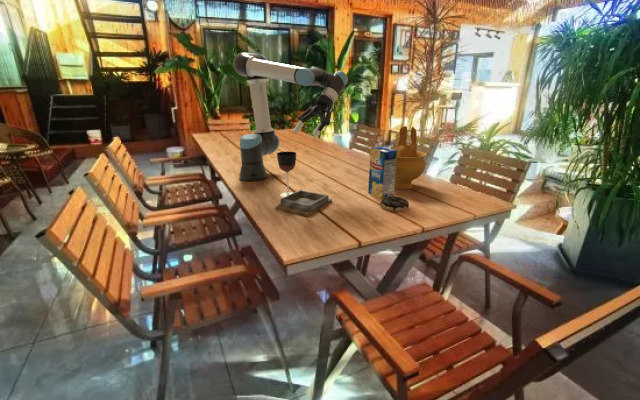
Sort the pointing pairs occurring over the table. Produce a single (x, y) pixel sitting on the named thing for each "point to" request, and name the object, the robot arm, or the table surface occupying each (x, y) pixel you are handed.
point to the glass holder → (303, 202)
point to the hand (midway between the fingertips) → (304, 134)
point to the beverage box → (382, 172)
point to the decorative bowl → (408, 160)
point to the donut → (394, 204)
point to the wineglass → (286, 165)
